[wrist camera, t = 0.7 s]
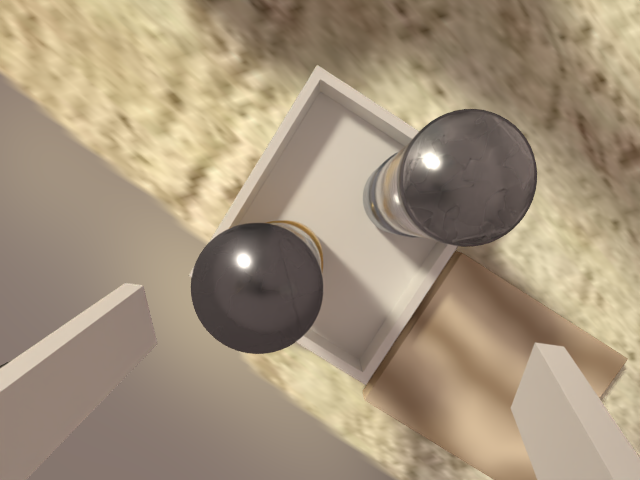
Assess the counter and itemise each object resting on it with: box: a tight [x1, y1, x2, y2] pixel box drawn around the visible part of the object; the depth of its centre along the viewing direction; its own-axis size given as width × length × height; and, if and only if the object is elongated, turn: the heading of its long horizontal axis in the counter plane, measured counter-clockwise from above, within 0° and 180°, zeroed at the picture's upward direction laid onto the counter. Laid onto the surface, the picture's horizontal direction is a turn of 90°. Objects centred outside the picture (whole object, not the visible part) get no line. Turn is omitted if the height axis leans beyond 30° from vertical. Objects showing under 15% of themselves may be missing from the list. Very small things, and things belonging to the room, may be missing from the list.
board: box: [363, 251, 627, 480], centre depth 30 cm, size 16×18×2 cm
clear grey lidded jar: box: [363, 109, 537, 246], centre depth 22 cm, size 6×6×14 cm
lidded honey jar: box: [191, 220, 323, 354], centre depth 22 cm, size 6×6×14 cm
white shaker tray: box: [189, 65, 458, 385], centre depth 28 cm, size 20×18×4 cm
